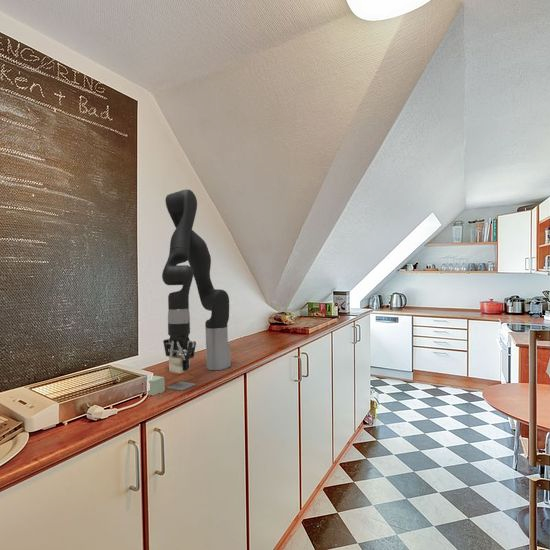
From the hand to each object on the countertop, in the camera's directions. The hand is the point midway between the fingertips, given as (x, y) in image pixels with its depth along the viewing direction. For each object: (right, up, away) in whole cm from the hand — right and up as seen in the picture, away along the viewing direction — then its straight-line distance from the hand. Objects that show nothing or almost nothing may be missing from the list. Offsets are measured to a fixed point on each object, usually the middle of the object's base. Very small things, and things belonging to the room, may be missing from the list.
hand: (179, 369), depth 125 cm
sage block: (-7, -7, -6) cm, 11 cm away
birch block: (0, 0, 0) cm, 0 cm away
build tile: (+1, -6, 0) cm, 6 cm away
